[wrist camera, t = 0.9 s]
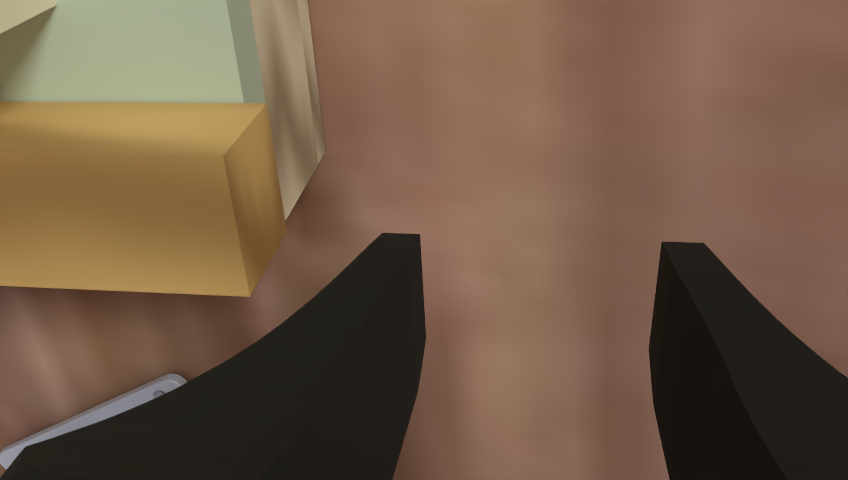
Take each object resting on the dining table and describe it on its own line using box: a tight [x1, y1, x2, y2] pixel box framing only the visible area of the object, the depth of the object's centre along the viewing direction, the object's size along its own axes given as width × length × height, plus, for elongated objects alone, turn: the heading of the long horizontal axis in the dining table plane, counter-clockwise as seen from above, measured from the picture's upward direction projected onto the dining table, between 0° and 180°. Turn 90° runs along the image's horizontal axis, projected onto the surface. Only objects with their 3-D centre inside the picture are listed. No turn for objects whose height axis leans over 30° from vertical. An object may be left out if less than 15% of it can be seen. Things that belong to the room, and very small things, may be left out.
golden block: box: [0, 101, 287, 297], centre depth 17 cm, size 3×11×2 cm, turn 93°
